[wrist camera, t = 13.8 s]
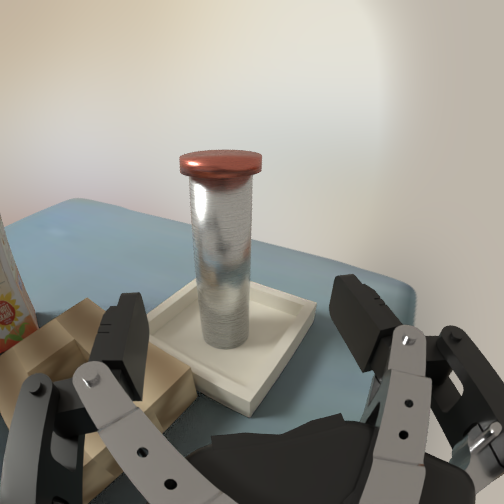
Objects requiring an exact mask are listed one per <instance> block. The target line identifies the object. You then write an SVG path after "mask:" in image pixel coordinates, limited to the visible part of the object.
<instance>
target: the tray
mask: <svg viewBox="0 0 504 504" xmlns="http://www.w3.org/2000/svg"><path fill="white" fill-rule="evenodd" d="M316 306H317V303H316V302H312V301H309V300H306V299H303V298H300V297H297V296H294V295H291V294H288V293H285V292H282V291H279V290H276V289H273V288H270V287H267V286H264V285H261V284H258V283H255V282H252V281H250V311H249V336H248V339H247V340H246V342H245V343H243V344H242V345H241V346H239V347H236V348H233V349H217V348H214V347H212V346H210V345H208V344H207V343H206V342H205V340H204V339H203V336H202V328H201V320H200V311H199V302H198V293H197V283H196V278H195V279H194V280H193V281H191V282H190V283H189V284H187V285H186V286H185V287H183V288H182V289H180V290H179V291H178V292H176V293H175V294H174V295H172V296H171V297H169V298H168V299H167V300H165V301H164V302H163V303H161V304H160V305H159V306H157V307H156V308H155V309H153V310H152V311H150V312H149V313H148V314H146V315H147V319H148V323H149V342H150V343H152V344H154V345H155V346H157V347H158V348H160V349H162V350H163V351H165V352H166V353H168V354H170V355H171V356H173V357H175V358H176V359H178V360H180V361H181V362H183V363H185V364H187V365H188V366H190V367H191V370H192V375H193V379H194V383H195V388H196V390H197V391H199V392H201V393H203V394H204V395H206V396H208V397H210V398H212V399H213V400H215V401H217V402H219V403H221V404H223V405H224V406H226V407H228V408H230V409H232V410H234V411H236V412H238V413H240V414H242V415H244V416H246V417H248V418H250V417H251V416H252V414H253V413H254V411H255V410H256V409H257V407H258V406H259V404H260V403H261V402H262V400H263V399H264V397H265V396H266V395H267V393H268V392H269V390H270V389H271V387H272V386H273V384H274V383H275V381H276V380H277V378H278V377H279V375H280V374H281V372H282V371H283V369H284V368H285V366H286V365H287V363H288V362H289V360H290V359H291V357H292V356H293V354H294V352H295V351H296V349H297V348H298V346H299V345H300V343H301V341H302V340H303V338H304V336H305V335H306V333H307V332H308V330H309V328H310V327H311V325H312V323H313V322H314V316H315V311H316Z"/></svg>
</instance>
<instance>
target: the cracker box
mask: <svg viewBox="0 0 504 504" xmlns="http://www.w3.org/2000/svg"><path fill="white" fill-rule="evenodd" d="M38 329H39V327H38V323H37V319H36V314H35V310H34V307H33V305H32V303H31V301H30V298H29V296H28V294H27V292H26V289H25V287H24V284H23V282H22V279H21V277H20V274H19V271H18V269H17V266H16V263H15V261H14V258H13V255H12V252H11V249H10V246H9V243H8V240H7V237H6V233H5V230H4V226H3V222H2V219H1V215H0V353H2V352H5V351H7V350H9V349H10V348H12V347H13V346H15V345H16V344H17V343H19V342H20V341H22V340H23V339H25V338H26V337H28V336H29V335H31V334H32V333H34V332H35V331H36V330H38Z"/></svg>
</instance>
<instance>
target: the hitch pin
mask: <svg viewBox="0 0 504 504" xmlns="http://www.w3.org/2000/svg"><path fill="white" fill-rule="evenodd" d="M261 169H262V155H261V154H259V153H256V152H251V151H243V150H208V151H198V152H192V153H188V154H184V155H182V156H180V173H181V174H183V175H186V176H189V186H190V206H191V222H192V236H193V249H194V261H195V273H196V283H197V293H198V302H199V311H200V320H201V328H202V336H203V339H204V340H205V342H206V343H207V344H208V345H210V346H212V347H214V348H217V349H233V348H236V347H239V346H241V345H242V344H243V343H245V342H246V340H247V339H248V336H249V311H250V266H251V221H252V179H253V175H254V174H257V173H259V172H261Z"/></svg>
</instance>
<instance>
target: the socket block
mask: <svg viewBox="0 0 504 504" xmlns="http://www.w3.org/2000/svg"><path fill="white" fill-rule="evenodd" d="M105 312H106V311H104V310H103V309H102V308H100V307H99V306H98V305H96V304H95V303H94V302H92V301H91V300H90V299H88V298H86V299H84V300H82V301H81V302H79V303H78V304H76V305H75V306H73V307H71V308H70V309H68V310H67V311H65V312H64V313H62V314H61V315H59V316H58V317H56V318H55V319H53V320H51V321H50V322H48V323H47V324H45V325H44V326H42V327H41V328H39V329H38V330H36V331H35V332H34V333H32V334H31V335H29V336H28V337H26V338H25V339H23V340H22V341H20V342H19V343H17V344H16V345H15V346H13V347H12V348H10V349H9V350H7V351H6V352H5V353H3V354H2V355H0V413H1V415H2V417H3V419H4V421H5V423H6V425H7V427H8V429H9V430H10V426H11V421H12V417H13V414H14V410H15V406H16V403H17V399H18V396H19V392H20V389H21V386H22V384H23V382H24V381H25V380H26V379H27V378H28V377H29V376H31V375H32V374H35V373H43V374H46V375H47V376H49V377H50V379H51V380H52V382H56V381H60V380H65V379H69V378H72V377H73V375H74V373H75V371H76V370H77V369H78V367H80V366H81V365H83V364H84V363H87V362H88V360H89V357H90V353H91V350H92V347H93V344H94V341H95V337H96V334H97V331H98V328H99V326H100V322H101V319H102V316H103V314H104V313H105ZM197 397H198V396H197V392H196V388H195V383H194V379H193V375H192V370H191V367H190V366H188V365H187V364H185V363H183V362H181V361H180V360H178V359H176V358H175V357H173V356H171V355H170V354H168V353H166V352H165V351H163V350H162V349H160V348H158V347H157V346H155V345H154V344H152V343H150V342H149V343H148V351H147V359H146V368H145V377H144V388H143V399H142V401H133V403H134V404H135V405H136V406H137V407H139V408H140V409H141V410H142V411H143V412H144V413H145V415H146V416H147V417H148V418H149V419H150V421H151V422H152V423H153V424H154V425H155V427H156V428H157V429H158V430H159V431H160V432H161V433H162V434H163V433H164V432H165V431H166V429H167V428H168V427H169V426H170V425H171V424H172V423H173V422H174V421H175V420H176V419H177V418H178V417H179V416H180V415H181V414H182V413H183V412H184V411H185V410H186V409H187V408H188V407H189V406H190V405H191V403H192V402H193V401H194V400H195V399H196V398H197ZM122 472H124V471H123V470H122V468H121V467H120V466H119V464H118V463H117V461H116V460H115V459H114V457H113V456H112V454H111V453H110V451H109V450H108V448H107V447H106V445H105V444H104V442H103V441H102V439H101V438H100V436H99V434H98V432H93V433H88V434H85V444H84V459H83V504H88V503H89V502H90V501H91V500H92V499H94V498H95V497H96V496H97V495H98V494H99V493H100V492H102V491H103V490H104V489H105V488H106V487H107V486H108V485H109V484H110V483H112V482H113V481H114V480H115V479H116V478H117V477H118V476H119V475H120V474H121V473H122Z"/></svg>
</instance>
